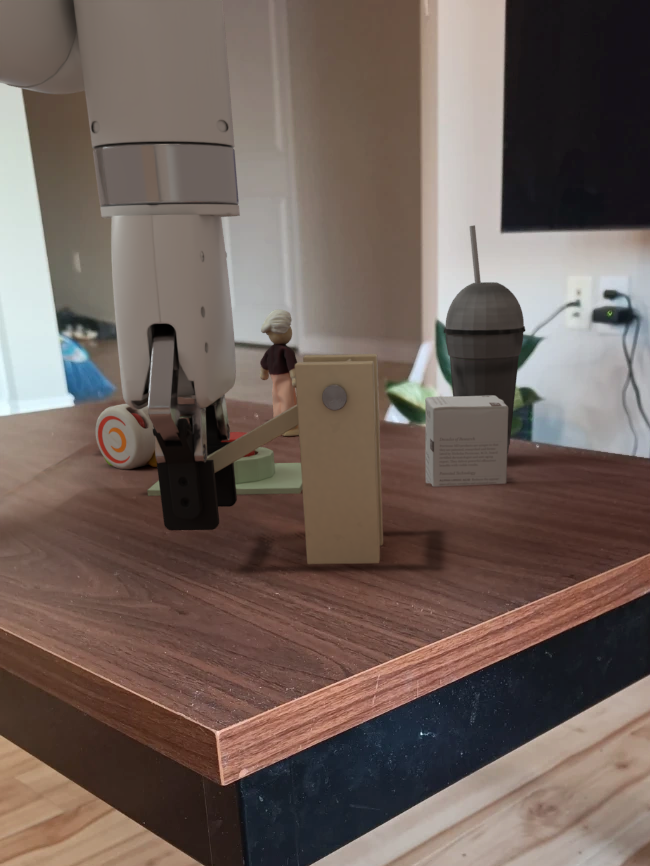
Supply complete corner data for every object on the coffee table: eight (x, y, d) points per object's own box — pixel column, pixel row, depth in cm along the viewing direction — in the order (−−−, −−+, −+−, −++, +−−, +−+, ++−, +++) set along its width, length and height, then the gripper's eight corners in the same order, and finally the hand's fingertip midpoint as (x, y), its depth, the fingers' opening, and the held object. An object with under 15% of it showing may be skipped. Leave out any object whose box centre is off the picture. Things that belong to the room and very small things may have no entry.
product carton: (424, 486, 87) (423, 396, 84) (495, 483, 88) (496, 393, 85) (432, 502, 82) (431, 406, 79) (508, 499, 82) (510, 403, 79)
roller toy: (129, 459, 101) (121, 398, 98) (178, 465, 98) (171, 402, 96) (96, 468, 98) (86, 405, 95) (145, 474, 95) (137, 408, 92)
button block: (149, 511, 81) (144, 466, 80) (178, 484, 90) (173, 443, 89) (301, 509, 81) (298, 464, 79) (314, 482, 90) (312, 441, 88)
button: (206, 462, 83) (204, 439, 82) (215, 453, 86) (213, 432, 85) (251, 461, 82) (249, 439, 82) (258, 453, 86) (256, 431, 85)
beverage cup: (510, 471, 92) (516, 223, 84) (433, 467, 95) (431, 226, 86) (530, 455, 98) (537, 224, 90) (457, 452, 101) (457, 226, 92)
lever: (189, 504, 61) (167, 468, 60) (207, 486, 66) (186, 452, 65) (366, 403, 58) (345, 364, 57) (372, 392, 63) (352, 355, 62)
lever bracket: (250, 592, 62) (230, 368, 56) (270, 555, 69) (254, 353, 64) (433, 590, 61) (431, 364, 56) (434, 553, 69) (432, 350, 63)
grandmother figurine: (322, 433, 112) (316, 309, 107) (297, 438, 110) (289, 311, 104) (275, 427, 117) (266, 307, 112) (249, 432, 115) (239, 309, 109)
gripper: (141, 195, 64) (174, 487, 72) (47, 181, 49) (102, 555, 56) (261, 193, 64) (281, 486, 71) (204, 178, 48) (238, 554, 56)
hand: (202, 513), depth 64 cm, fingers closed on lever, 5 cm apart
